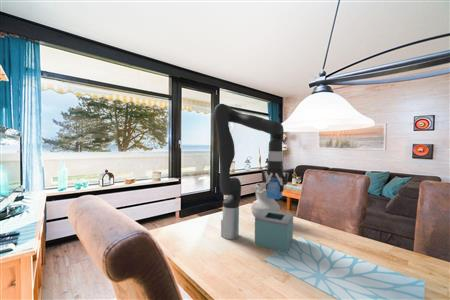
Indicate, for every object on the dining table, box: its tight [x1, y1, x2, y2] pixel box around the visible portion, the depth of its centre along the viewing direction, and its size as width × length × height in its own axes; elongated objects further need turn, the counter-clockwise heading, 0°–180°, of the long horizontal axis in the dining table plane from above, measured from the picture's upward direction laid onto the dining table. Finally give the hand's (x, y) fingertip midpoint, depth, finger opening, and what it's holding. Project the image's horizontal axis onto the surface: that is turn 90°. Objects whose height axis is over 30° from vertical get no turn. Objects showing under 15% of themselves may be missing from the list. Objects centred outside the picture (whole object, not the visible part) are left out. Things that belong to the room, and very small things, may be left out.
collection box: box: [254, 209, 294, 254], centre depth 111 cm, size 16×16×14 cm
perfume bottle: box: [267, 175, 283, 200], centre depth 109 cm, size 6×6×12 cm
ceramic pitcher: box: [250, 182, 281, 219], centre depth 141 cm, size 22×20×25 cm
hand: (274, 191), depth 109 cm, fingers closed on perfume bottle, 6 cm apart
